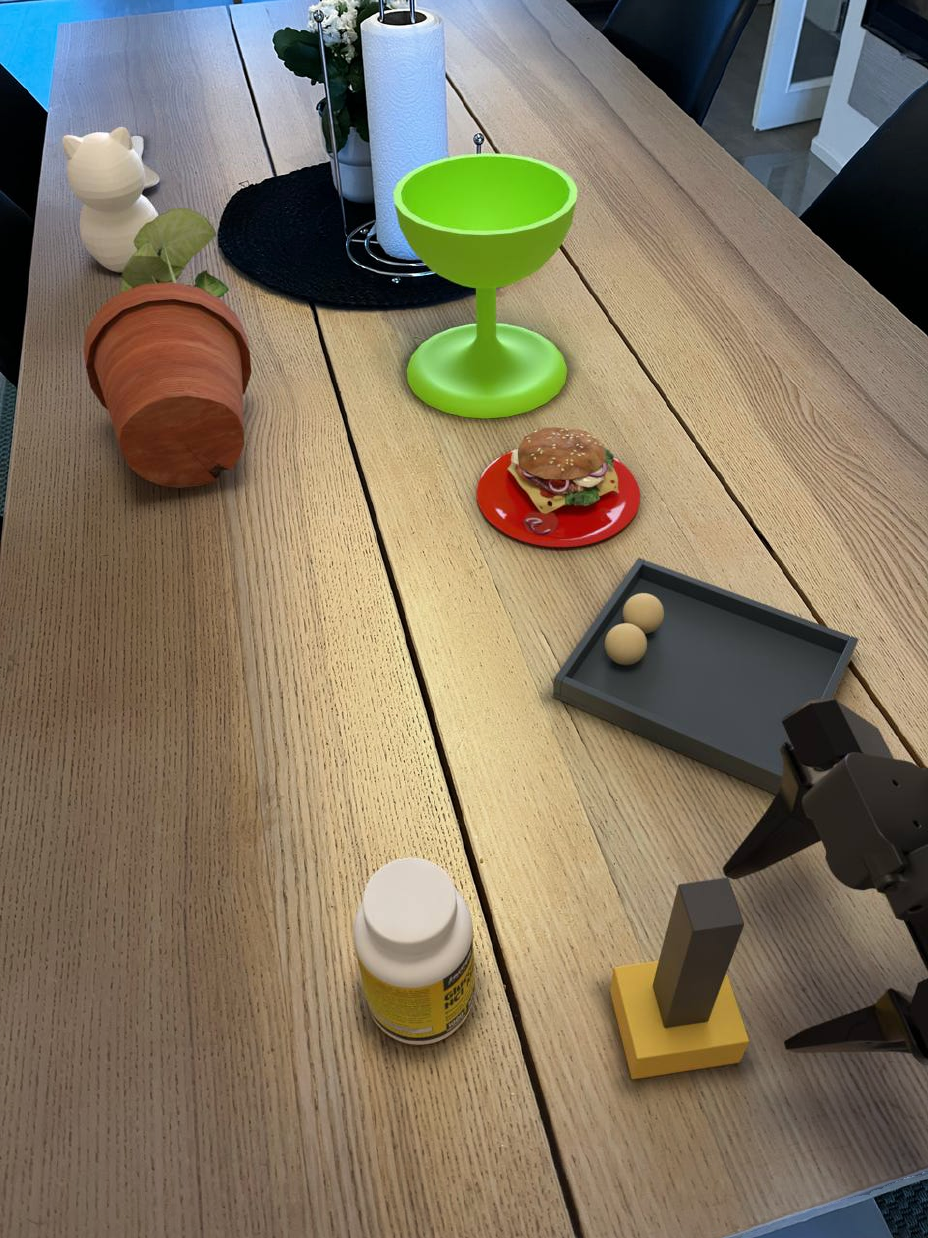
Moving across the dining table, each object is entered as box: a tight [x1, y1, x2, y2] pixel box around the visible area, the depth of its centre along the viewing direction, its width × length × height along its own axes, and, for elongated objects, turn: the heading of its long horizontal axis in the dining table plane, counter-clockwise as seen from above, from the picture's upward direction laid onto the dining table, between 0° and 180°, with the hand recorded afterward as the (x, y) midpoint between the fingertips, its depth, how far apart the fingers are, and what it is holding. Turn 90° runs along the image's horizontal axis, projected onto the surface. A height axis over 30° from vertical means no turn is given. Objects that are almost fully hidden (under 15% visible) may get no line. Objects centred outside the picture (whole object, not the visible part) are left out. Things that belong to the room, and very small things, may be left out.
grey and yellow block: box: [609, 876, 750, 1080], centre depth 52 cm, size 6×5×14 cm
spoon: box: [130, 135, 160, 190], centre depth 136 cm, size 4×21×2 cm, turn 17°
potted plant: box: [83, 207, 252, 489], centre depth 95 cm, size 16×15×35 cm
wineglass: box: [392, 152, 579, 420], centre depth 95 cm, size 16×16×18 cm
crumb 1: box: [623, 593, 664, 634], centre depth 75 cm, size 3×3×3 cm
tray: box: [552, 557, 859, 796], centre depth 73 cm, size 17×14×2 cm
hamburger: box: [476, 426, 641, 548], centre depth 86 cm, size 14×14×6 cm
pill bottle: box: [352, 857, 476, 1046], centre depth 54 cm, size 6×6×11 cm
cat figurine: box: [61, 126, 159, 273], centre depth 114 cm, size 9×12×15 cm
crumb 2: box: [605, 623, 647, 665], centre depth 73 cm, size 3×3×3 cm
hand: (756, 956), depth 51 cm, fingers open, 9 cm apart
